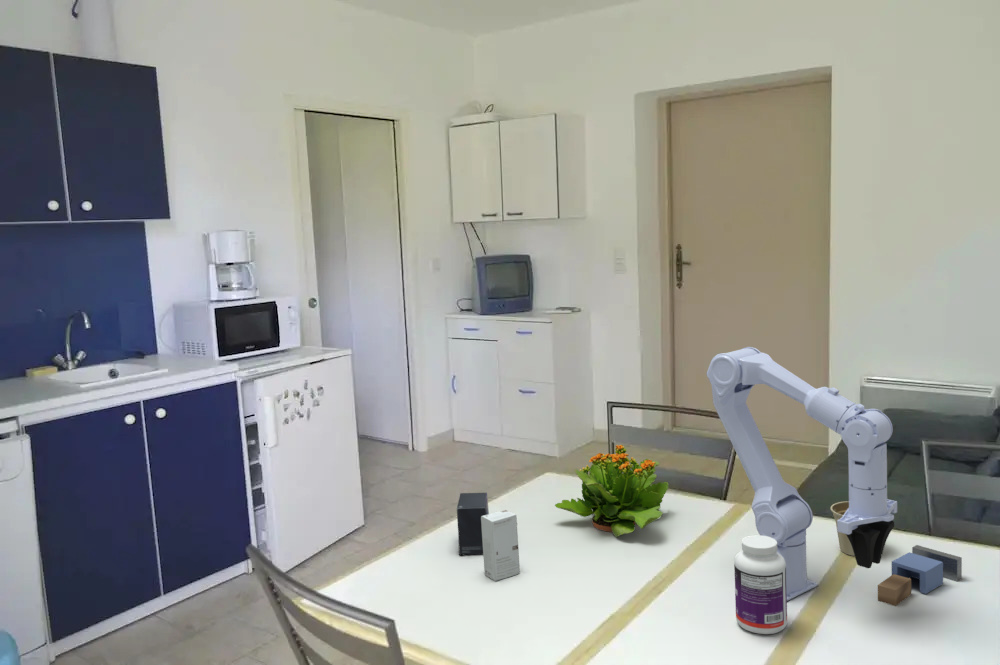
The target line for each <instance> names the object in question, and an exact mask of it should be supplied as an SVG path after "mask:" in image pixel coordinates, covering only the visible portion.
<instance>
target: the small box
mask: <svg viewBox="0 0 1000 665" xmlns="http://www.w3.org/2000/svg"><path fill="white" fill-rule="evenodd" d="M488 499H489V498H488V492H460V493H459V498H458V502H457V506H456V517H457V518H456V520H457V531H458V532H457V534H458V535H457V536H458V553H459V554H460V555H459V554H458V555H459V556H462V555H461V554H477V555H483V542H482V525H481V516H484V515H488V514H490V512H489V500H488Z"/></svg>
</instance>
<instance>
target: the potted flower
mask: <svg viewBox="0 0 1000 665" xmlns="http://www.w3.org/2000/svg"><path fill="white" fill-rule="evenodd" d="M627 451H628V450H627V449H626V448H625V446H624V445H623V444H620V445H619V444H616V445H615V451H614V452H615V453H613V454H612V453H605V454H604V453H603V452H602V453H601V452H598V453H596V454H595V455H594V456H592V457H590V459H589V460H588V463H591V466H589V465H588V464H586V466H585V467H584V466H583V467H582V468H579V470H578V469H577V468H576V469H574V472H575V474H576V475H577V477H578V478H579V479H580V480H581V481H582V482H581V489H582V490H581V494H582V495H581V498H579V497H576V499H577V500H576V499H574V498H571V499H570V500H569V499H562V500H561V502H557V503H555V504H554V507H556V508H557V509H560V510H565V511H567V512H570V513H574V514H576V515H579V516H580V517H583V518H584V517H585V518H586V517H587V518H588V517H589V516H591V515H593V516H592V517H591V523H592V525H593V526H594V528H595V529H597V530H601V531H604V532H608V533H609V532H610V533H612V534H613V536H614V537H616V538H619V537H620V536H621V535H622V536H623V535H625V534H626V535H627V534H631V533H633V532H634V531H635V530H636V526H635V525H637V526H638V527H639V528H640V529H641V530H644V529H645V527H647V526H648V525H649V524H650V523H652V522H654V521H656V520H658V519H660V518H662V516H663V511H661V510H660V509H661V503H663V498H664V497H665V495H666V493H667V490H669V482H667V481H664V482H663V481H659V482H657V483H655V481H656V478H657V477H658V476H657V474H656V471H657V469H656V467H658V466H659V465H660V464H661V462H659V461H657V460H652V459H651V460H650V459H649V458H645V459H643V460H641V461H640V462H639V463H638V461H636V458H634V457H633V456H631V457H630V459H629V454H628V453H626V452H627ZM652 483H653V484H652Z"/></svg>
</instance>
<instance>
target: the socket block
mask: <svg viewBox="0 0 1000 665" xmlns="http://www.w3.org/2000/svg"><path fill="white" fill-rule="evenodd" d="M893 574H895V575H899V576H902V577H906V578H910V579H911V578H914V579H917V580H919V592H920V593H921V594H926V595H927V594H928V593H930V592H932V591H933V590H935V589H936V588H938V587H940V586H942V585H943V584H944V577H943V562H941V561H938V560H934V559H931V558H927V557H924V556H920V555H917V554H913V553H912V552H907V553H905V554H903V555H902V556H900V557H898V558H895V559H894V560H891V575H893Z"/></svg>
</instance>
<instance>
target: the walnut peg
mask: <svg viewBox="0 0 1000 665" xmlns="http://www.w3.org/2000/svg"><path fill="white" fill-rule="evenodd" d="M910 596H912V578H911V577H910V578H906V577H902V576H899V575H895V574H893V575H892V574H891V575H890V576H889V577H887V578H886V579H884V580H883V581H882V582H880V583H879V584H877V601H878V602H881V603H884V604H887V605H891V606H894V607H897V606H898V605H900V604H901V603H902V602H904V600H906V599H907V598H909V597H910Z"/></svg>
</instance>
